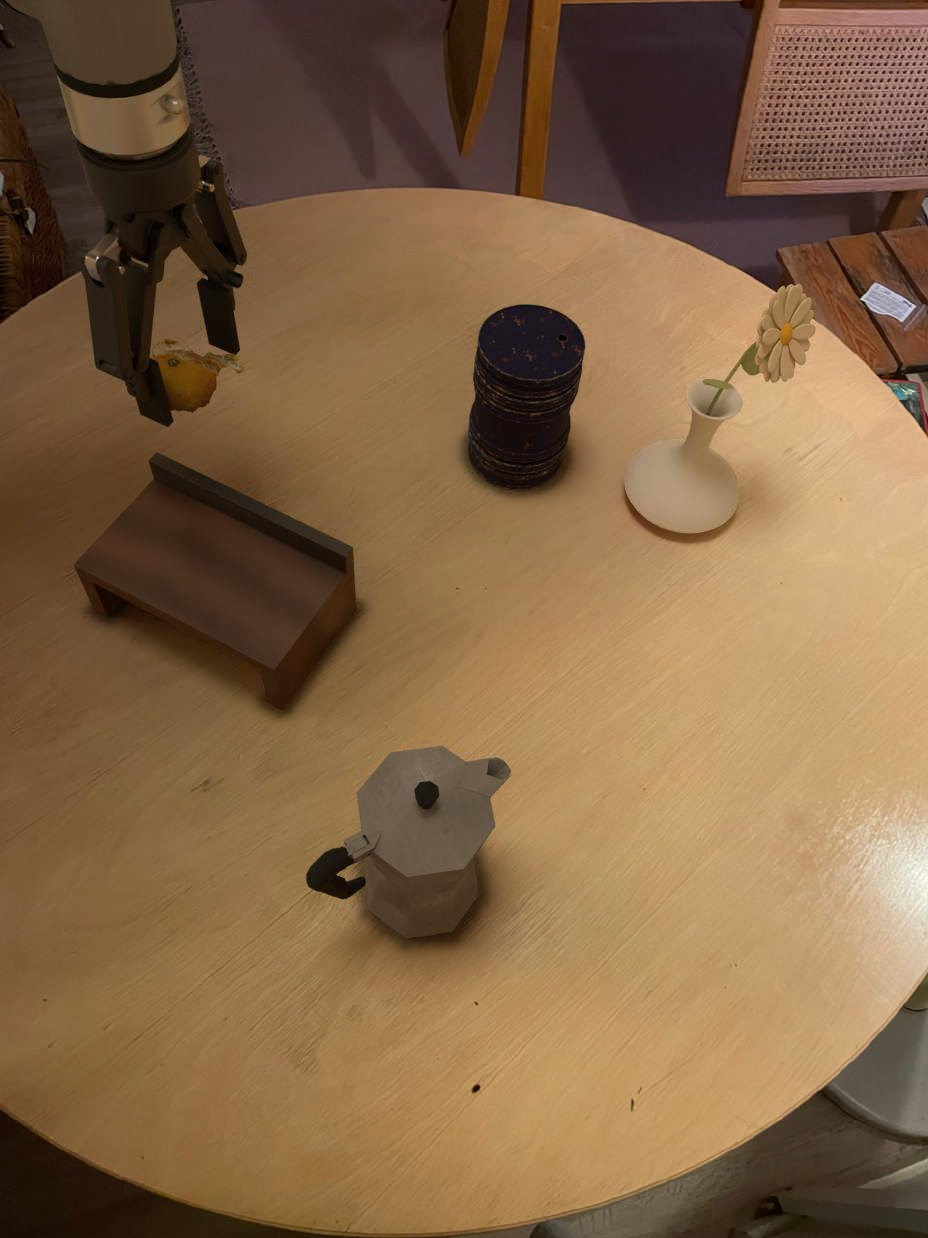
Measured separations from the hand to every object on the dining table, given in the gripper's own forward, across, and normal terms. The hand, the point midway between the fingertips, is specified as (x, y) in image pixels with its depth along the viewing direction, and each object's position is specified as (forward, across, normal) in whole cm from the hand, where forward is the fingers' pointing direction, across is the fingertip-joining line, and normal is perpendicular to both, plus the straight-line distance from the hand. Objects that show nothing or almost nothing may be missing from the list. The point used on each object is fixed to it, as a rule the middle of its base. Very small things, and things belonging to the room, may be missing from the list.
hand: (191, 381), depth 86 cm
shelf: (+16, -10, -8) cm, 20 cm away
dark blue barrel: (+16, +20, -22) cm, 34 cm away
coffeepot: (+16, -24, -34) cm, 45 cm away
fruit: (+1, +1, 0) cm, 1 cm away
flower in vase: (+16, +24, -39) cm, 48 cm away
